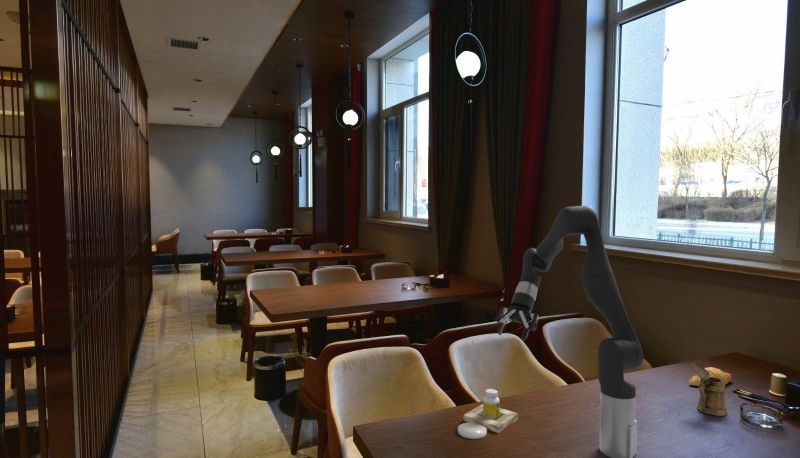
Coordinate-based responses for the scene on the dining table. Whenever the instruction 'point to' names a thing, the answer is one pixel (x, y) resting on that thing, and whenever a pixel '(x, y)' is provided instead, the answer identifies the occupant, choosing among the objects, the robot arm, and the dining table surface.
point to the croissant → (712, 373)
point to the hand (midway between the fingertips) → (510, 336)
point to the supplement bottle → (491, 404)
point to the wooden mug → (710, 393)
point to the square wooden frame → (497, 425)
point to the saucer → (472, 430)
